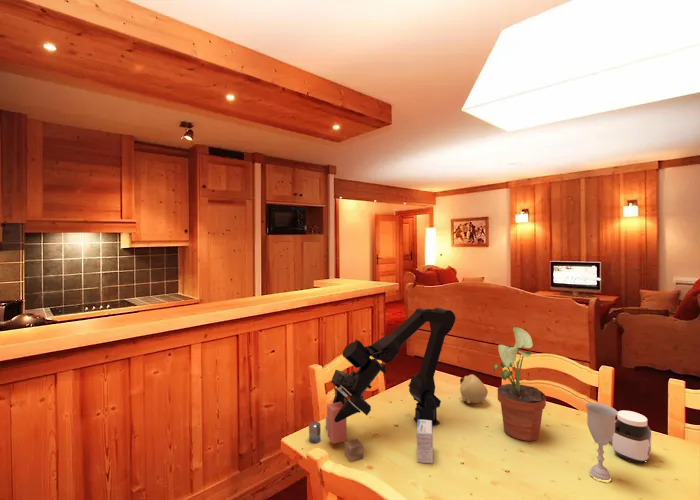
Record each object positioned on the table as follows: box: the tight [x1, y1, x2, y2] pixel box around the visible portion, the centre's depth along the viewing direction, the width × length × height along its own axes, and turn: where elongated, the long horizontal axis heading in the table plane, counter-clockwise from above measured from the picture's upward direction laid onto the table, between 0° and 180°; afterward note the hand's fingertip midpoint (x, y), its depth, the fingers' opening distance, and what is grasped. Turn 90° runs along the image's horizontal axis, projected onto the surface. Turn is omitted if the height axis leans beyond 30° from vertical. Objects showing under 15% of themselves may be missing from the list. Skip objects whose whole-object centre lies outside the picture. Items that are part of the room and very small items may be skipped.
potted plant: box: [493, 326, 547, 442], centre depth 116 cm, size 16×15×35 cm
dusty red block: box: [326, 402, 348, 444], centre depth 112 cm, size 4×4×10 cm
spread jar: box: [609, 409, 652, 464], centre depth 106 cm, size 12×11×12 cm
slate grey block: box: [325, 416, 328, 432], centre depth 120 cm, size 4×4×4 cm
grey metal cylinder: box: [308, 421, 322, 444], centre depth 114 cm, size 4×4×5 cm
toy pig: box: [459, 373, 489, 404], centre depth 140 cm, size 10×12×11 cm
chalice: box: [584, 402, 618, 480], centre depth 95 cm, size 7×7×18 cm
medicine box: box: [416, 420, 434, 464], centre depth 106 cm, size 8×4×9 cm, turn 168°
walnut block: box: [344, 438, 364, 463], centre depth 105 cm, size 4×4×4 cm
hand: (332, 417), depth 111 cm, fingers closed on dusty red block, 4 cm apart
